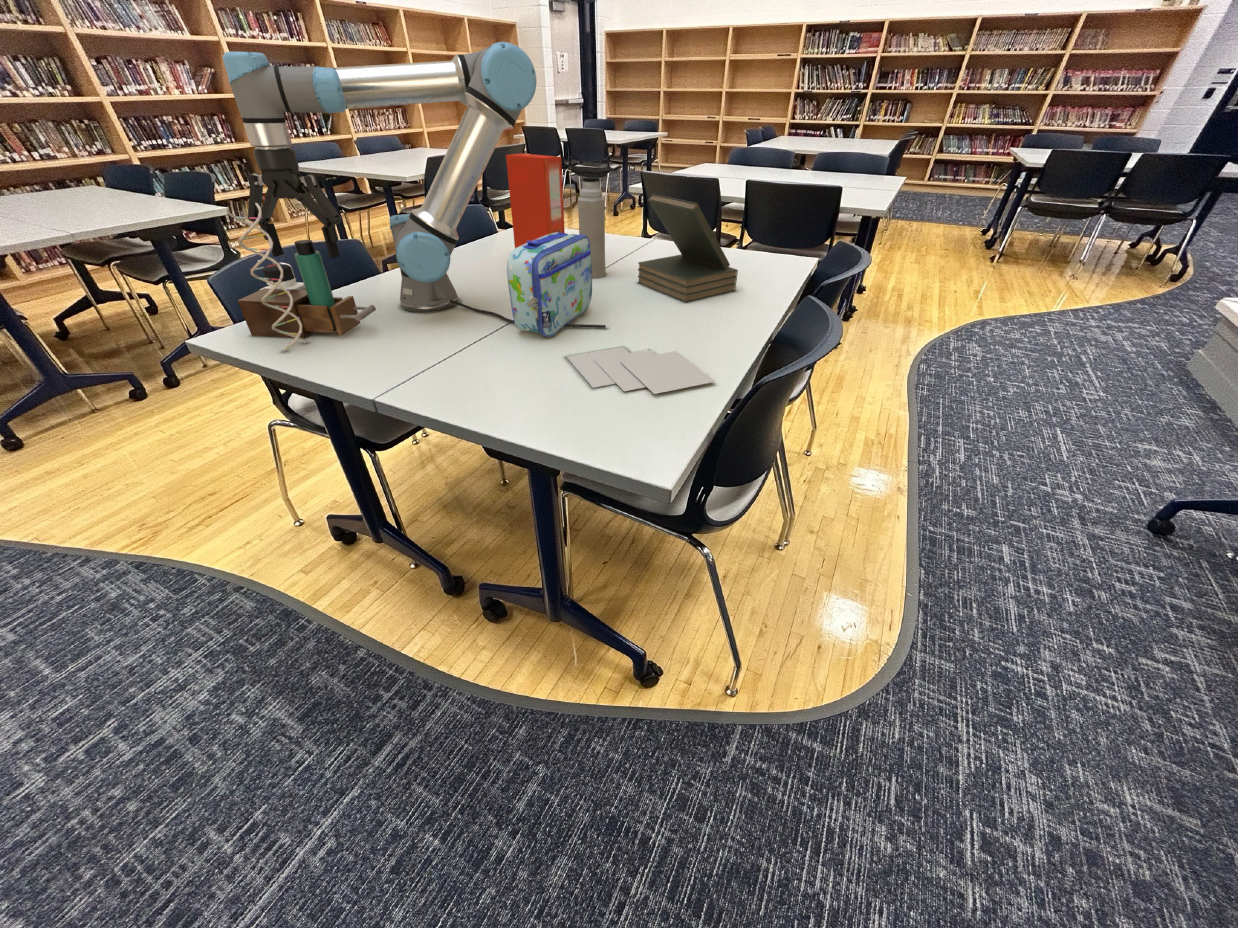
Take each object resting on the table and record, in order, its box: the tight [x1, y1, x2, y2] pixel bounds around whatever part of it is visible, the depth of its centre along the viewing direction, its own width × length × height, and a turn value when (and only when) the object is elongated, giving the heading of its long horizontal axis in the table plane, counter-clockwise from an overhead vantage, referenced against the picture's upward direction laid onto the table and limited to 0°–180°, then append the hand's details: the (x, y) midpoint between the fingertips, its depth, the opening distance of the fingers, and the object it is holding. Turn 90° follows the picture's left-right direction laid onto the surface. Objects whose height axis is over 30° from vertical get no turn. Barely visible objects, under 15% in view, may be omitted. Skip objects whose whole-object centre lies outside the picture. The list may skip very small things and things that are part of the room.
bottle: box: [293, 239, 336, 326], centre depth 124 cm, size 5×5×19 cm
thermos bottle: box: [577, 176, 606, 279], centre depth 164 cm, size 8×8×28 cm
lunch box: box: [506, 232, 593, 338], centre depth 130 cm, size 26×11×21 cm, turn 154°
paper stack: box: [565, 346, 717, 395], centre depth 112 cm, size 23×25×1 cm
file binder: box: [505, 153, 566, 249], centre depth 178 cm, size 8×17×32 cm, turn 51°
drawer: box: [295, 295, 377, 336], centre depth 128 cm, size 18×8×7 cm, turn 84°
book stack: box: [637, 193, 739, 304], centre depth 154 cm, size 23×20×25 cm
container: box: [259, 262, 306, 290], centre depth 136 cm, size 8×8×13 cm
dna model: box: [225, 203, 307, 353], centre depth 114 cm, size 7×6×30 cm
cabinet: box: [237, 287, 315, 339], centre depth 129 cm, size 14×10×9 cm
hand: (306, 256), depth 120 cm, fingers open, 13 cm apart
